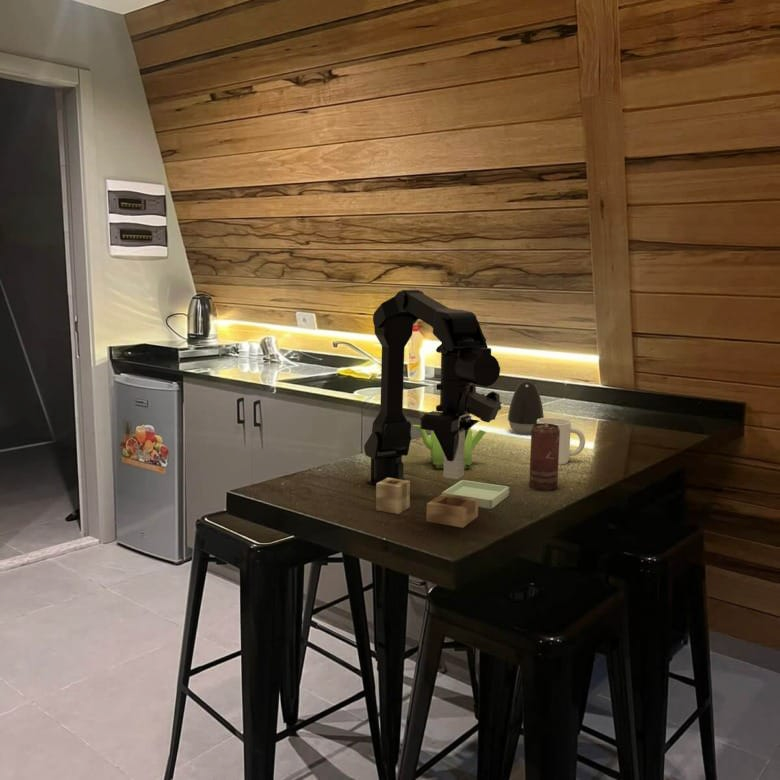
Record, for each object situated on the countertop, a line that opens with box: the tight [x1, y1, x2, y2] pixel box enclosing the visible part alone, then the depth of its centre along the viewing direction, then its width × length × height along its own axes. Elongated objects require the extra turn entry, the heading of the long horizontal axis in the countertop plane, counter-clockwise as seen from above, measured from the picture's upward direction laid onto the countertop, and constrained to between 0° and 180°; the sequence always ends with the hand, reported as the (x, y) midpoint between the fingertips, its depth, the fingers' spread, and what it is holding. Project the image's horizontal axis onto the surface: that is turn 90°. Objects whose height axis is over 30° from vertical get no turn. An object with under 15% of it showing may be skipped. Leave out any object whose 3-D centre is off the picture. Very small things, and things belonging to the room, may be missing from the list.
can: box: [529, 423, 560, 492], centre depth 176 cm, size 6×6×14 cm
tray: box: [441, 479, 511, 510], centre depth 168 cm, size 11×11×2 cm
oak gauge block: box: [425, 493, 479, 529], centre depth 154 cm, size 8×8×4 cm
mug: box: [537, 417, 586, 466], centre depth 198 cm, size 12×8×10 cm
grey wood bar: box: [442, 430, 465, 480], centre depth 153 cm, size 3×3×9 cm
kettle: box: [411, 424, 486, 470], centre depth 194 cm, size 15×14×11 cm
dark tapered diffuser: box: [507, 380, 545, 435], centre depth 231 cm, size 10×10×15 cm
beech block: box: [375, 478, 411, 515], centre depth 160 cm, size 5×5×6 cm
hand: (453, 459), depth 153 cm, fingers closed on grey wood bar, 3 cm apart
